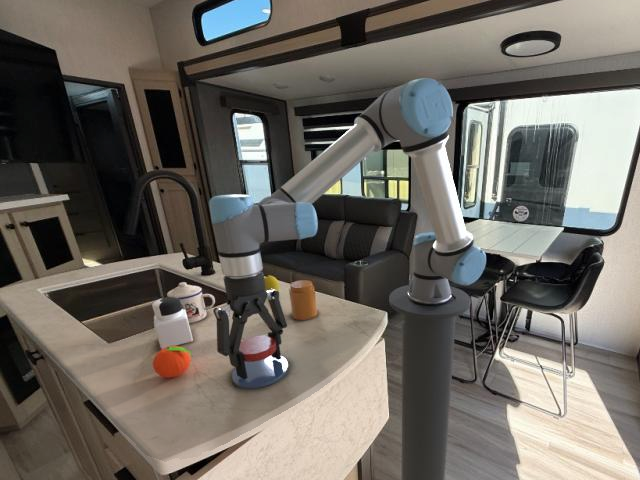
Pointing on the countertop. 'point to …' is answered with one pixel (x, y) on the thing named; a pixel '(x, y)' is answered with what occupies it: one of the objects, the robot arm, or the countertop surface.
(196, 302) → the teacup with lid
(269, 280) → the lemon
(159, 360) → the clementine
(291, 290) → the jar
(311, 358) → the countertop surface
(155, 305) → the medicine bottle
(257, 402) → the countertop surface
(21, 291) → the countertop surface
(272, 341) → the lid
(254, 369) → the saucer
